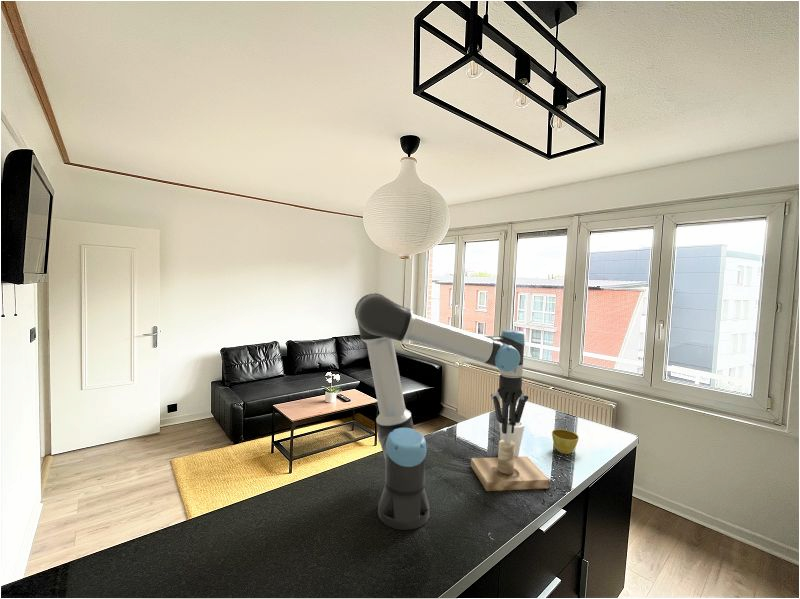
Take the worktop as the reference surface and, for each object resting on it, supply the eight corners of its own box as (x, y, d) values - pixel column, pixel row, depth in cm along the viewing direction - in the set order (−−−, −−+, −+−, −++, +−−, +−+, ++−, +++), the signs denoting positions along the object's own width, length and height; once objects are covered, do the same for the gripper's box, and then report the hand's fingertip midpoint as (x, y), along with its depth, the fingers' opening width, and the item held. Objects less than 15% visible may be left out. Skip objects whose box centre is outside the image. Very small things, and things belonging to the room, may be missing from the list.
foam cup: (523, 461, 143) (525, 428, 142) (498, 458, 144) (500, 425, 144) (520, 450, 152) (522, 419, 151) (497, 447, 154) (499, 416, 153)
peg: (500, 483, 126) (502, 446, 125) (494, 475, 131) (496, 439, 131) (515, 483, 127) (518, 446, 126) (508, 474, 132) (511, 439, 131)
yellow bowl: (580, 458, 147) (582, 441, 146) (554, 455, 148) (555, 438, 148) (573, 447, 157) (574, 430, 156) (548, 444, 158) (549, 428, 158)
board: (486, 491, 122) (486, 482, 122) (470, 466, 138) (471, 458, 137) (548, 488, 125) (549, 479, 125) (526, 464, 141) (526, 456, 140)
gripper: (497, 378, 122) (493, 447, 124) (534, 378, 124) (529, 446, 125) (488, 372, 129) (485, 437, 131) (523, 372, 131) (519, 436, 133)
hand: (507, 442), depth 128 cm, fingers closed
